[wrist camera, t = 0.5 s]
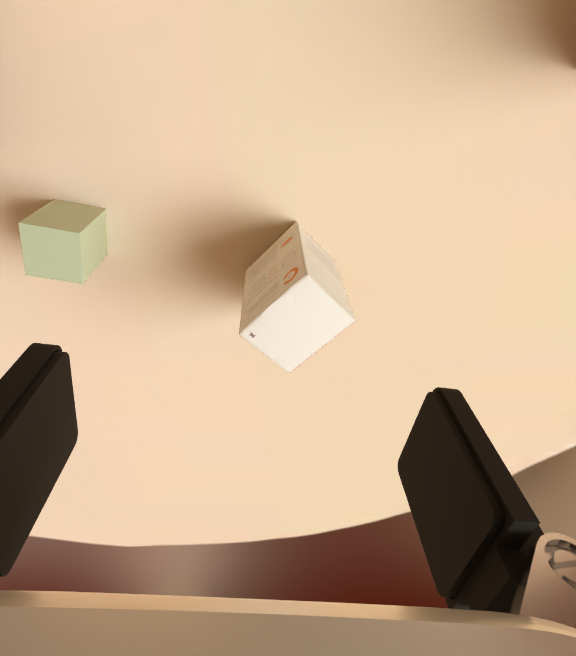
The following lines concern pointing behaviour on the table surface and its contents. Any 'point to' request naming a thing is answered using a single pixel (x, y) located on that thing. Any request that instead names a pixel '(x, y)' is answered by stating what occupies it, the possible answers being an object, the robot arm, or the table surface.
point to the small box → (293, 300)
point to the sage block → (64, 241)
